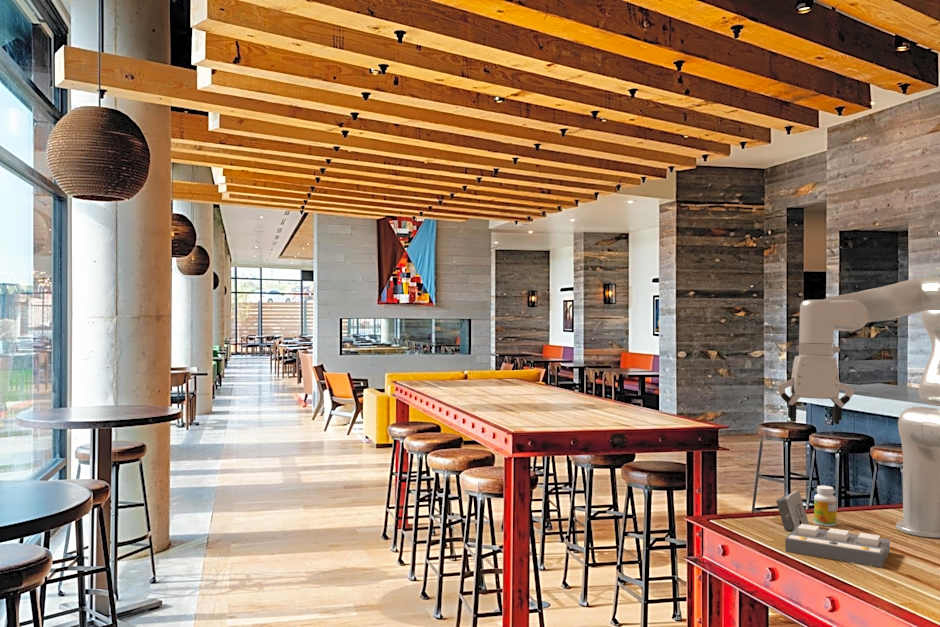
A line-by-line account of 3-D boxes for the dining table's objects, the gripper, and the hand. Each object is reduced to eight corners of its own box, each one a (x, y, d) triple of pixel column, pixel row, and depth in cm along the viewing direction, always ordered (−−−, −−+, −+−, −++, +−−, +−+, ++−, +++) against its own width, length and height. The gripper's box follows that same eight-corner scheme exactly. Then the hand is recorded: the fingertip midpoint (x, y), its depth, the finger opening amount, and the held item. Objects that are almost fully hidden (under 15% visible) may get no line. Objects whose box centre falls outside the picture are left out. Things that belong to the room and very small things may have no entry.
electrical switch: (799, 534, 190) (795, 497, 191) (778, 532, 194) (774, 496, 194) (809, 526, 198) (805, 490, 198) (789, 524, 201) (785, 489, 201)
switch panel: (798, 537, 187) (798, 524, 187) (889, 552, 176) (889, 538, 176) (785, 551, 177) (785, 537, 177) (881, 567, 165) (881, 552, 165)
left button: (801, 534, 184) (801, 523, 184) (819, 536, 181) (819, 526, 181) (797, 538, 180) (797, 527, 180) (815, 540, 178) (815, 530, 178)
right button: (860, 543, 176) (860, 532, 176) (880, 546, 174) (880, 535, 174) (857, 547, 173) (857, 536, 173) (877, 550, 170) (877, 539, 170)
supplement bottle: (809, 522, 201) (809, 485, 201) (826, 520, 203) (825, 484, 203) (824, 527, 196) (824, 490, 196) (841, 525, 198) (841, 488, 198)
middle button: (830, 538, 180) (830, 528, 180) (849, 541, 177) (849, 530, 177) (827, 542, 177) (827, 532, 177) (845, 545, 174) (845, 535, 174)
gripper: (849, 351, 183) (847, 422, 183) (774, 349, 186) (772, 418, 186) (859, 353, 175) (858, 426, 175) (781, 350, 179) (779, 422, 178)
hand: (814, 422), depth 181 cm, fingers open, 9 cm apart
